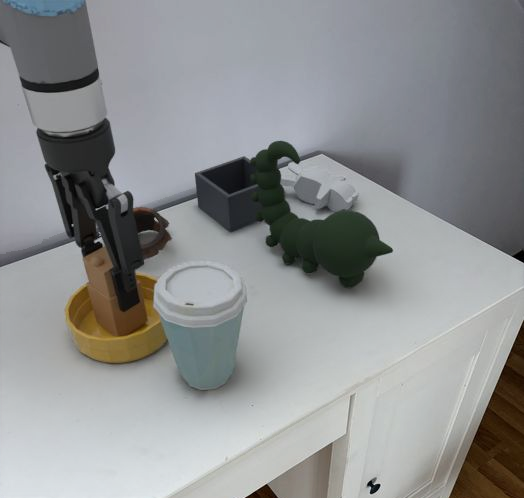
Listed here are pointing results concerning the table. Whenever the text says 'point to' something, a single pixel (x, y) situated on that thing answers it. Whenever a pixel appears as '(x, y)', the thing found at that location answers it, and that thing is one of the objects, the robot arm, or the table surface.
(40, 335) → the table surface
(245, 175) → the bin
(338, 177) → the bunny figurine
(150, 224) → the rusty brown ring frame
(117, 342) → the bowl
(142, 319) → the tan stacked block
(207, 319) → the disposable coffee cup
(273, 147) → the toy figurine
